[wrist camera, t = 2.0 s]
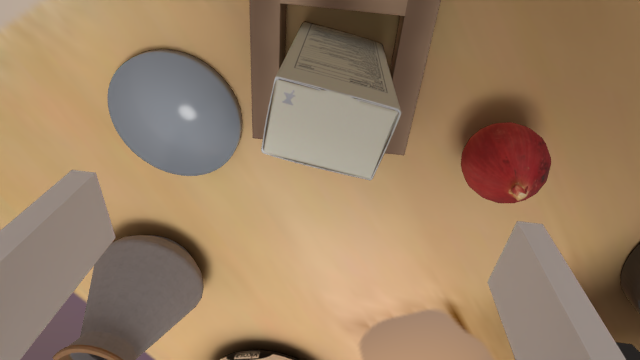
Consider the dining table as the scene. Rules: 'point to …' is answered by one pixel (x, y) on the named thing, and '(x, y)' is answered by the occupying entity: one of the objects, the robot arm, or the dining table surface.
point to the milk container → (257, 355)
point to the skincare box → (332, 103)
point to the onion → (506, 162)
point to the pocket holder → (410, 3)
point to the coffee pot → (135, 298)
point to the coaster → (175, 112)
